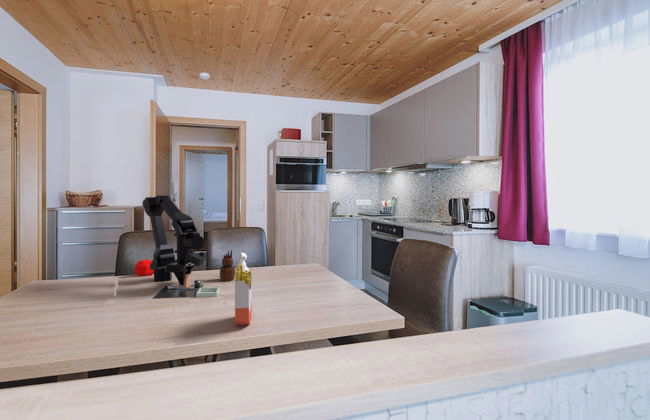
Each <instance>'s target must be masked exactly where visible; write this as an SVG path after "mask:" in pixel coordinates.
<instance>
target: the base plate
mask: <svg viewBox="0 0 650 420" xmlns="http://www.w3.org/2000/svg"><path fill="white" fill-rule="evenodd" d="M176 285H177V286H178V284H176ZM168 286H169V285H165V286H164V287H162V288H161V290H159V291H158V292H157V293H156V294H155V295H154V296H153V297H152V298H151V300H152V299H153V300H157V299H159V300H160V299H177V298H178V299H179V298H197V297H196V293H197V291H198V290H192V289H168ZM204 286H205V284H201V288H204ZM189 287H194V284H191V286H189Z"/></svg>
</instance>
